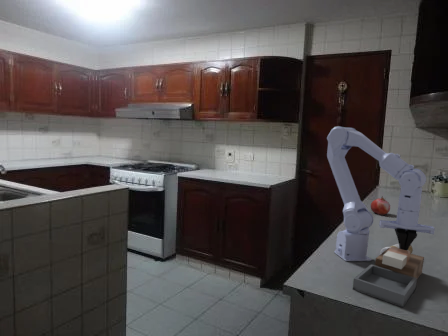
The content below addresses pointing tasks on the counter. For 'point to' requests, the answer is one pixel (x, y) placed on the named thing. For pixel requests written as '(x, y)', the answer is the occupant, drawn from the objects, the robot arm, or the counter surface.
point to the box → (385, 284)
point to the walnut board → (411, 267)
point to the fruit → (380, 206)
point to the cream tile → (394, 259)
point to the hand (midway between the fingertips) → (402, 253)
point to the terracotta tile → (400, 252)
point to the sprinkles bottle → (396, 247)
